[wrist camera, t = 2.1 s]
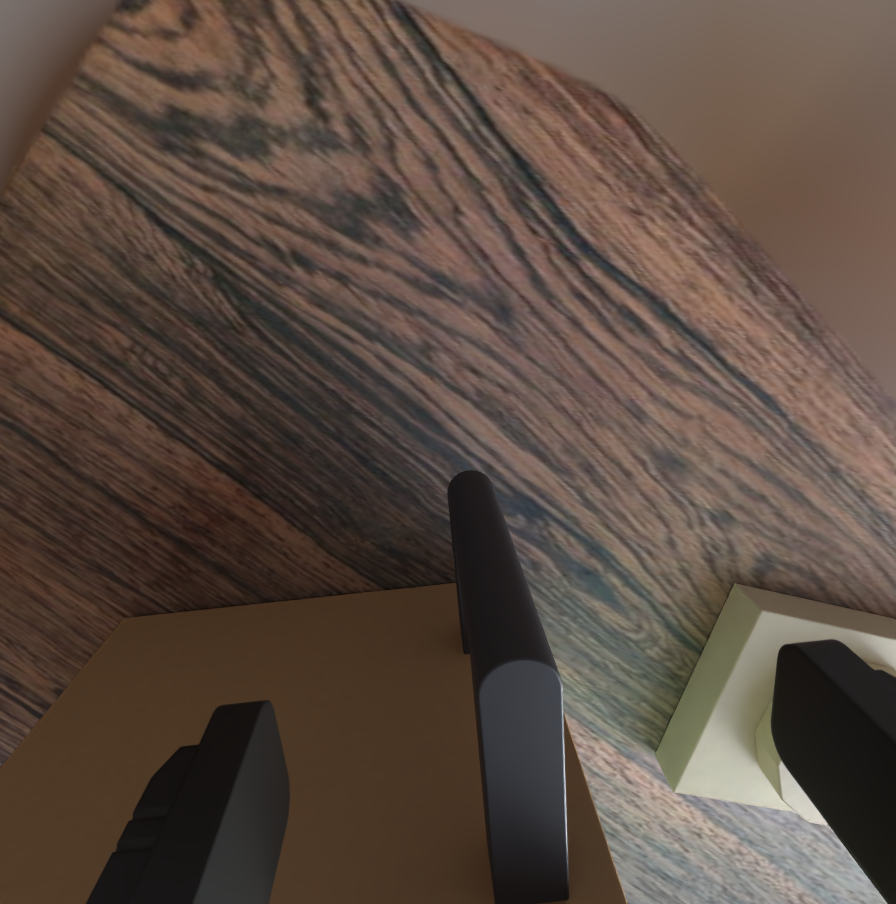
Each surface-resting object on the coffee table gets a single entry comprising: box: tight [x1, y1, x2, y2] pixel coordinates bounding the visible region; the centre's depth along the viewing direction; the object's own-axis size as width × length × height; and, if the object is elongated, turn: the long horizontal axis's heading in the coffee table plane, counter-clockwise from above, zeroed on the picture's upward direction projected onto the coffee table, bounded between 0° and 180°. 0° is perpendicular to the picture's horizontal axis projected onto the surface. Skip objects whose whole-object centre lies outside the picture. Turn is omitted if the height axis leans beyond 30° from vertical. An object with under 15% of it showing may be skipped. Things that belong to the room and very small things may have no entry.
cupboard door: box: [0, 470, 628, 904], centre depth 16 cm, size 7×17×17 cm, turn 95°
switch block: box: [655, 583, 896, 826], centre depth 26 cm, size 10×12×4 cm
